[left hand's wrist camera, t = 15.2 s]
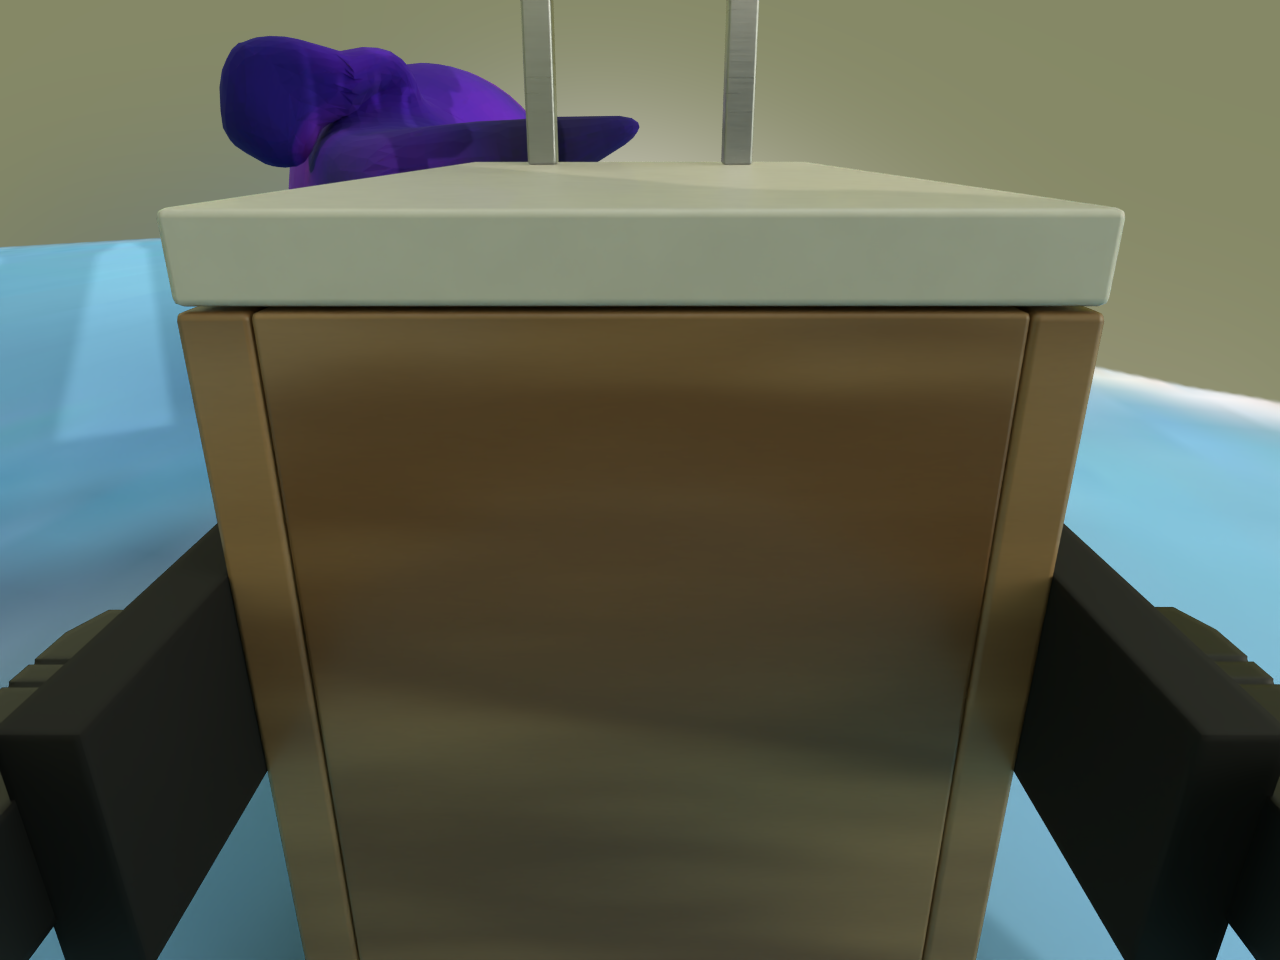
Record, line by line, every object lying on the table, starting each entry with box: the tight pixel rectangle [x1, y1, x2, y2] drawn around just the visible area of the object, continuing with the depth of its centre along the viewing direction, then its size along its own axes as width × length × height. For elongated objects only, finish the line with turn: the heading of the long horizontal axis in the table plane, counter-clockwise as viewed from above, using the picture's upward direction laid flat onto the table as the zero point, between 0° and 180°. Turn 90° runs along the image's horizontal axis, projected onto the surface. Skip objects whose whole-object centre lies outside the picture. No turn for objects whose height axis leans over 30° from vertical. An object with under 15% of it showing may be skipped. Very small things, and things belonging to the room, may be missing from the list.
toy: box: [220, 36, 639, 189], centre depth 44 cm, size 16×18×27 cm
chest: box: [177, 306, 1104, 960], centre depth 18 cm, size 16×9×10 cm, turn 0°
